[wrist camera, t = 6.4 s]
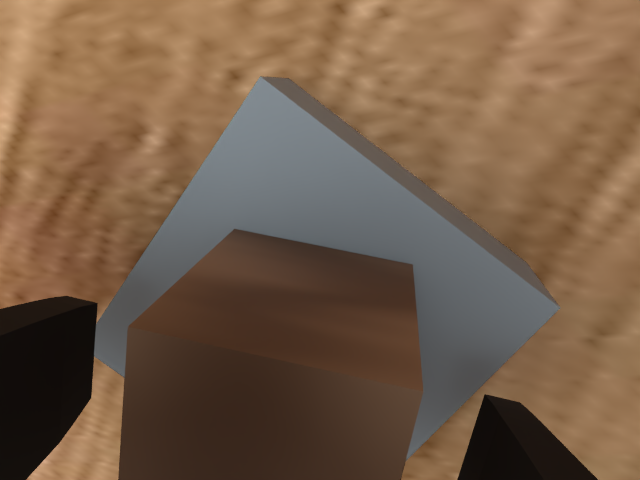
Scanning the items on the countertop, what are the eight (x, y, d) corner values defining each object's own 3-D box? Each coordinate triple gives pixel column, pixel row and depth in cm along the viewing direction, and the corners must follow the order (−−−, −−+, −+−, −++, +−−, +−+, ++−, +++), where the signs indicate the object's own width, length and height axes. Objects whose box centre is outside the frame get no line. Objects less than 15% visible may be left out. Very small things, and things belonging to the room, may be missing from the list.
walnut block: (412, 264, 12) (422, 391, 7) (376, 419, 13) (365, 618, 8) (234, 228, 12) (128, 327, 7) (215, 383, 13) (113, 554, 8)
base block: (523, 258, 15) (560, 307, 12) (347, 443, 17) (337, 528, 14) (291, 78, 14) (260, 76, 11) (143, 294, 17) (81, 346, 13)
